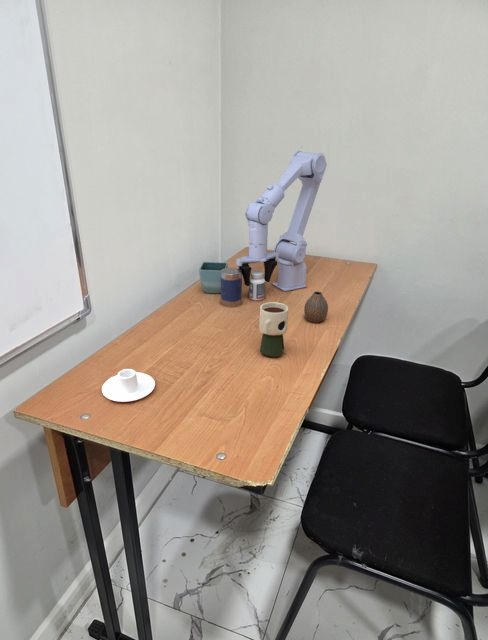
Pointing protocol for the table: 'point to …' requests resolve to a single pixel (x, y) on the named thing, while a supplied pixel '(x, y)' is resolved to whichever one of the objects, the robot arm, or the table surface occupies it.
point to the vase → (316, 308)
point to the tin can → (231, 287)
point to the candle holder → (128, 386)
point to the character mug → (273, 328)
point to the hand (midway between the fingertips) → (257, 283)
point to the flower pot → (211, 276)
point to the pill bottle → (257, 286)
